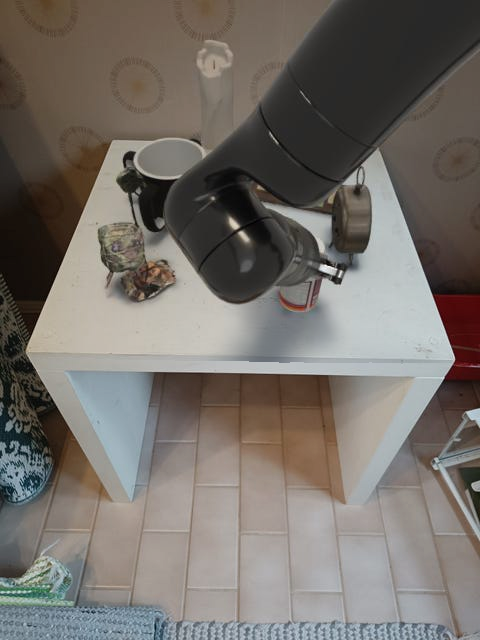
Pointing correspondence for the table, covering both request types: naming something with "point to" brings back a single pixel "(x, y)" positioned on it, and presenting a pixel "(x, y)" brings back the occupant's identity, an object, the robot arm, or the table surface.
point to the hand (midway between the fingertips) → (307, 261)
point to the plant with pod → (131, 249)
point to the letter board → (267, 197)
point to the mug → (161, 173)
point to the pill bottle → (302, 291)
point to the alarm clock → (351, 218)
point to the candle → (215, 93)
